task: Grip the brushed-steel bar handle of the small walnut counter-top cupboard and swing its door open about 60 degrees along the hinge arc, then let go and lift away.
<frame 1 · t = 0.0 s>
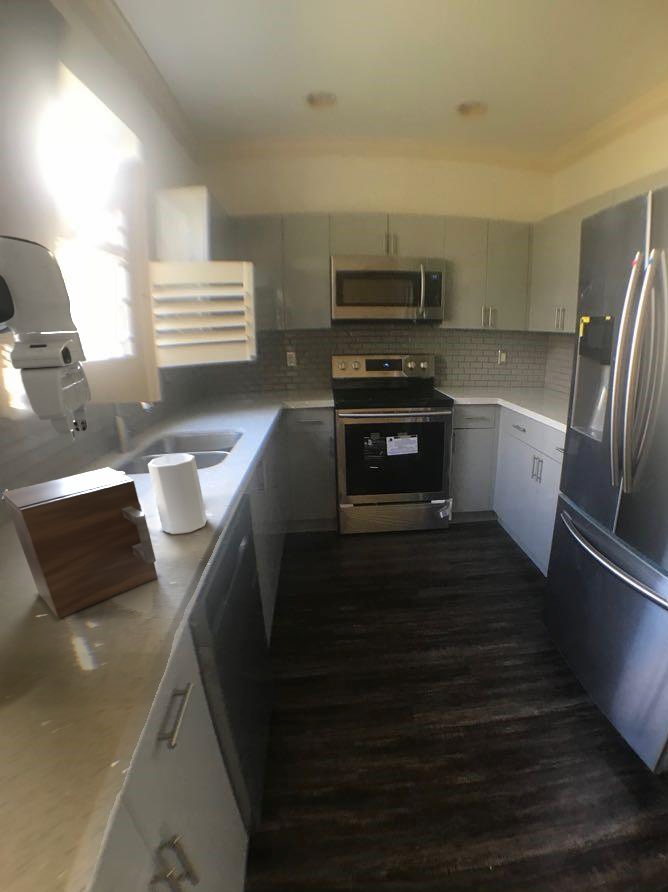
hand: (75, 435, 79), 33 cm above the worktop, tool pointing down, fingers open, 8 cm apart
sprinkles bottle: (127, 519, 128), on the worktop
cupboard: (98, 585, 96), on the worktop
medicine box: (129, 536, 118), on the worktop
cupboard door: (103, 552, 86), point 11 cm above the worktop, hinge at 0.0°
cup: (185, 526, 123), on the worktop
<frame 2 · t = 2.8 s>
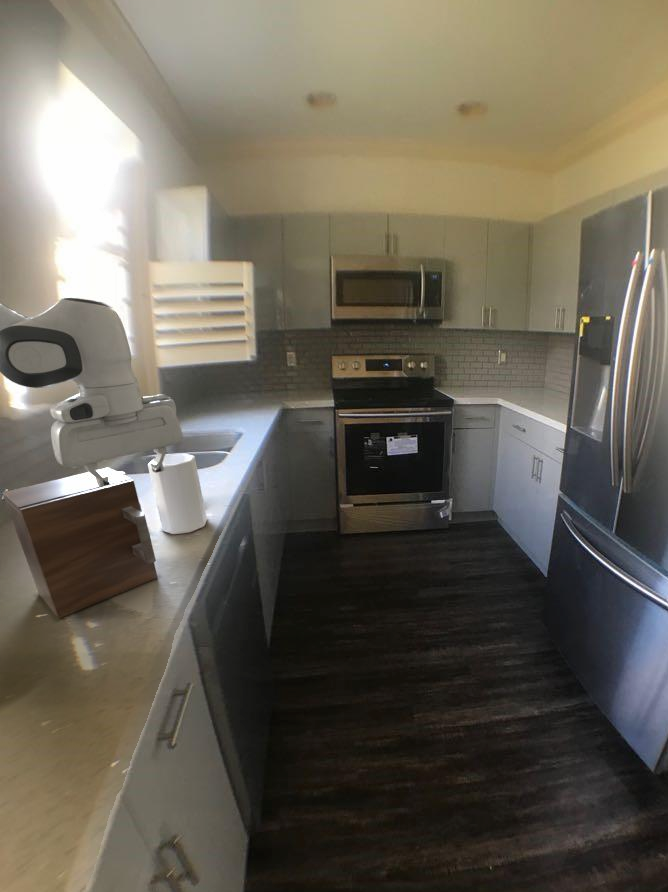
hand: (132, 478, 83), 25 cm above the worktop, tool pointing down, fingers open, 8 cm apart
nothing on the worktop moved.
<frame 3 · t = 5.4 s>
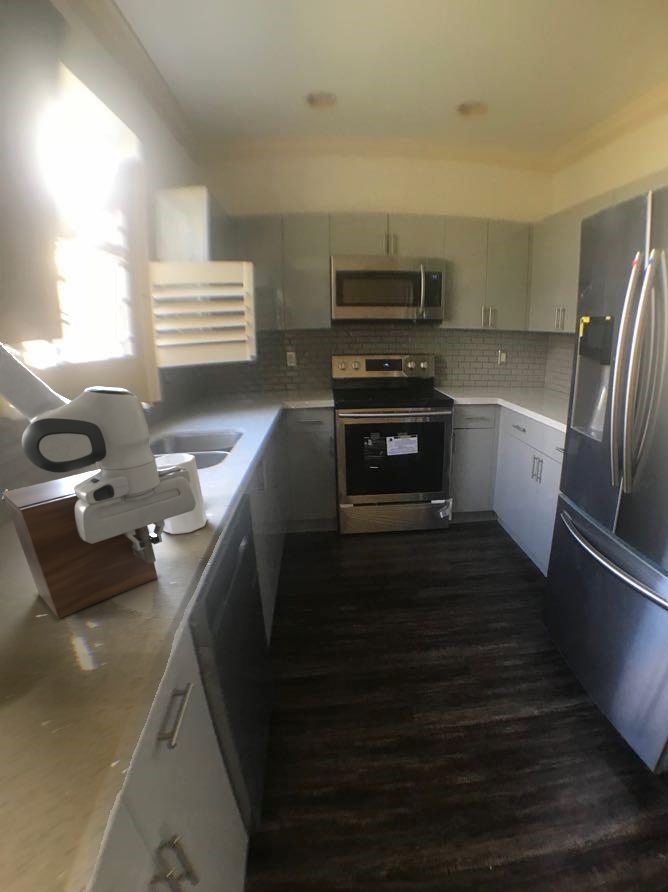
hand: (148, 545, 88), 11 cm above the worktop, tool pointing down, fingers closed on cupboard door, 2 cm apart
cupboard door: (103, 552, 86), point 11 cm above the worktop, hinge at 0.0°, touching gripper
everything else where it was.
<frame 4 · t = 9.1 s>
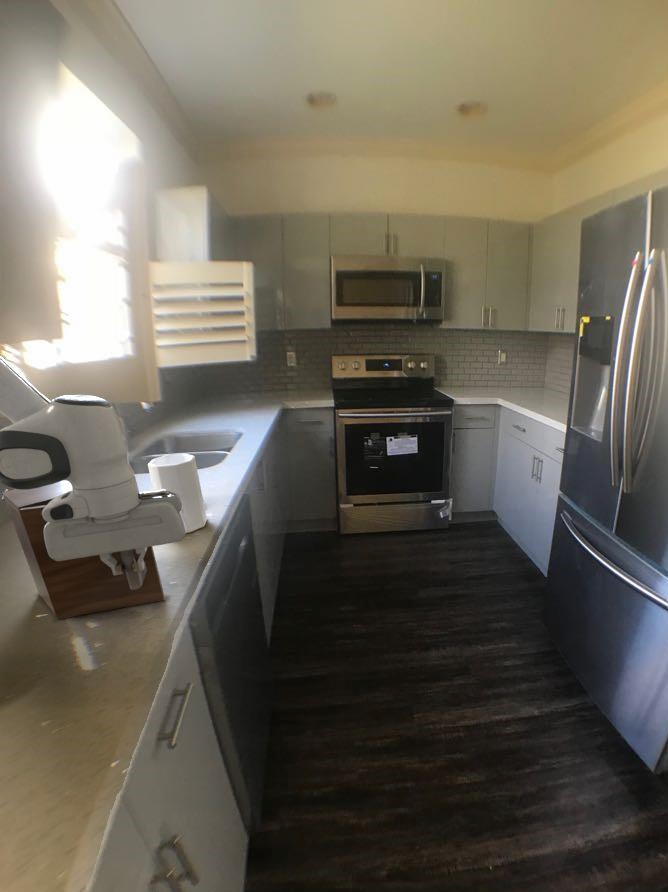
hand: (129, 571, 79), 11 cm above the worktop, tool pointing down, fingers closed on cupboard door, 2 cm apart
cupboard door: (92, 566, 81), point 11 cm above the worktop, hinge at 31.8°, touching gripper
everything else where it was.
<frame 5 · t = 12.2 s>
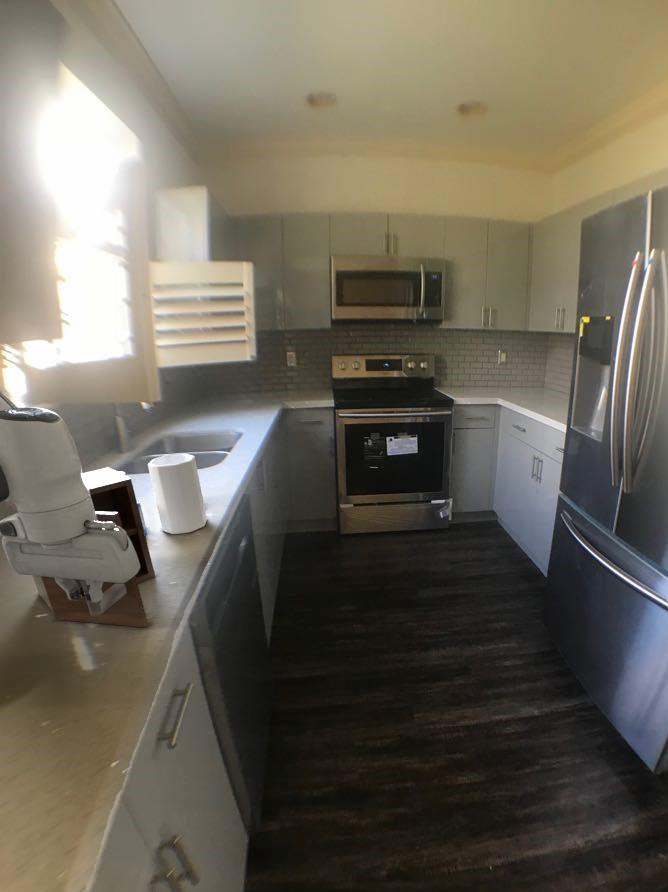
hand: (86, 599, 72), 11 cm above the worktop, tool pointing down, fingers closed
cupboard door: (69, 579, 77), point 11 cm above the worktop, hinge at 58.3°
everything else where it was.
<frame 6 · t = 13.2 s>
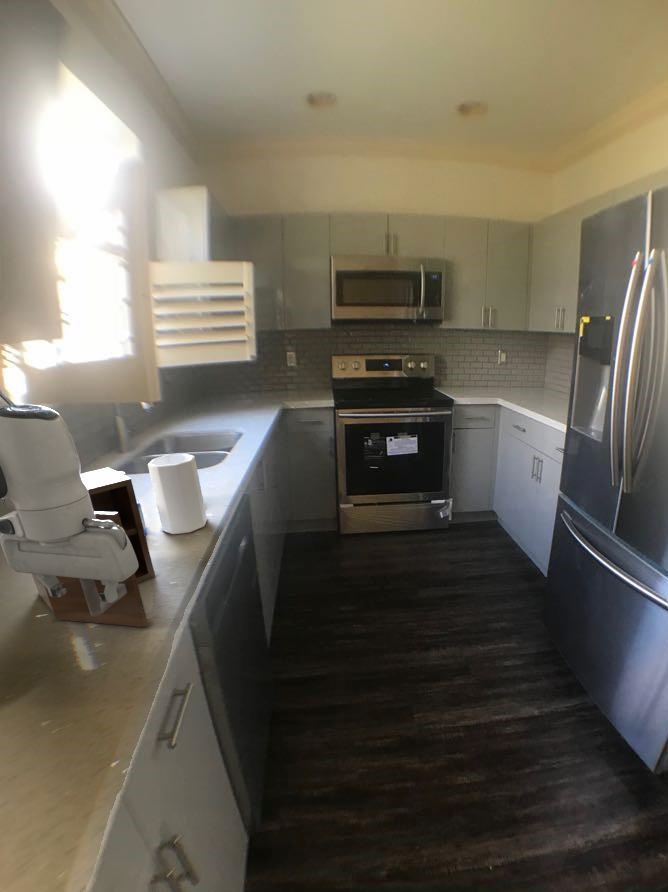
hand: (84, 597, 72), 11 cm above the worktop, tool pointing down, fingers open, 8 cm apart
nothing on the worktop moved.
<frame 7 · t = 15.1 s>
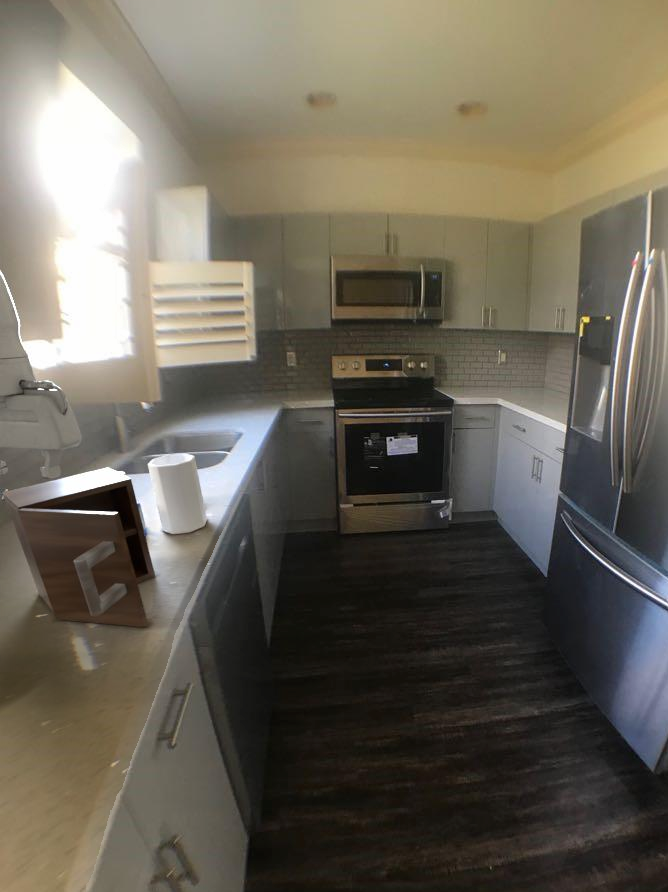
hand: (25, 475, 68), 30 cm above the worktop, tool pointing down, fingers open, 8 cm apart
nothing on the worktop moved.
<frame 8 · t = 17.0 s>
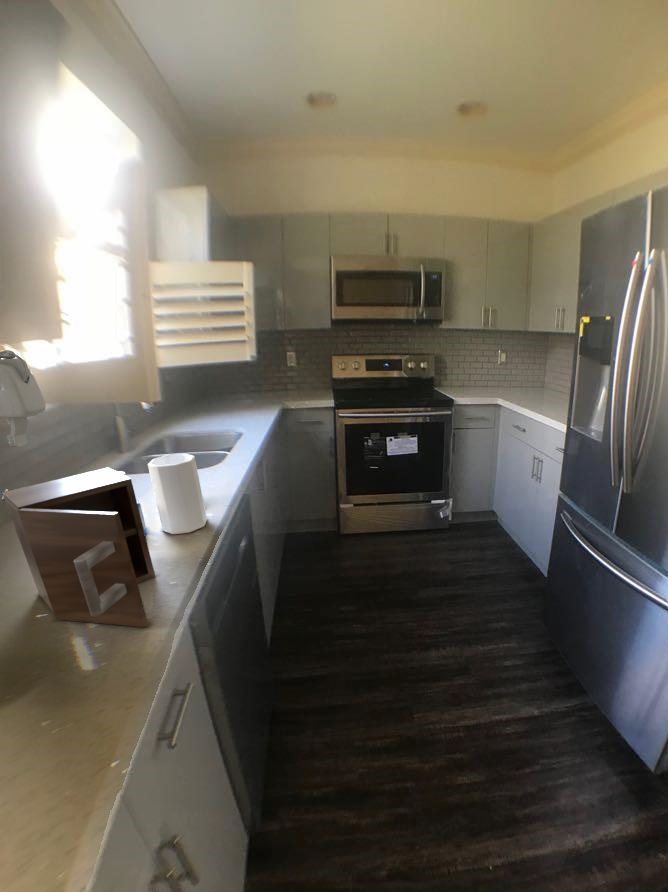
nothing on the worktop moved.
at the end: cupboard door at +58° (first picture: +0°) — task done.
